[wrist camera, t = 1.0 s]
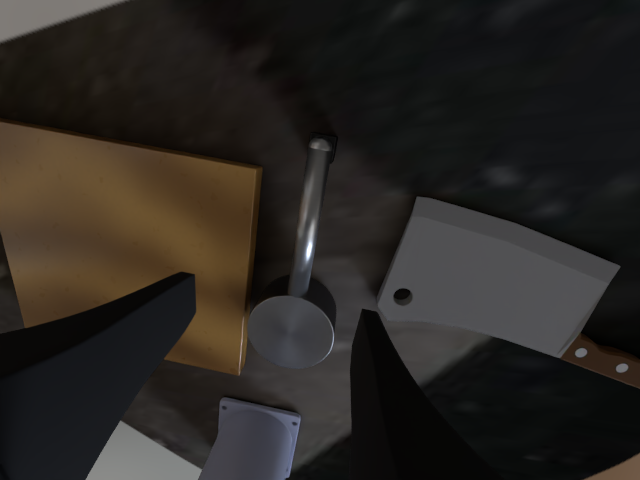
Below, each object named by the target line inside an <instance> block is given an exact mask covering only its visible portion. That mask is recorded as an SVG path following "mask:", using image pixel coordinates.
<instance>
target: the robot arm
mask: <svg viewBox="0 0 640 480" xmlns="http://www.w3.org/2000/svg"><path fill="white" fill-rule="evenodd" d="M195 314H196V287H195V274H192V273H187V272H182V271H181V272H178V273H176V274H173V275H171V276H169V277H166V278H164V279H162V280H160V281H157V282H155V283H153V284H151V285H148V286H146V287H144V288H142V289H139V290H137V291H135V292H133V293H130V294H128V295H125V296H123V297H120V298H118V299H115V300H113V301H110V302H108V303H106V304H103V305H100V306H98V307H95V308H92V309H89V310H86V311H83V312H80V313H77V314H74V315H71V316H68V317H65V318H61V319H57V320H54V321H50V322H46V323H43V324H39V325H36V326H32V327H28V328H24V329H20V330H15V331H11V332H7V333H2V334H0V480H85V479H86V478H87V476H88V474H89V472H90V470H91V469H92V467H93V465H94V463H95V462H96V460H97V458H98V457H99V455H100V453H101V451H102V450H103V448H104V446H105V445H106V443H107V441H108V440H109V438H110V436H111V434H112V433H113V431H114V430H115V428H116V427H117V425H118V423H119V422H120V420H121V418H122V417H123V415H124V414H125V412H126V410H127V409H128V407H129V406H130V404H131V403H132V401H133V400H134V398H135V397H136V395H137V394H138V392H139V390H140V389H141V388H142V386H143V385H144V383H145V382H146V381H147V379H148V378H149V377H150V376H151V374H152V373H153V372H154V370H155V369H156V368H157V367H158V365H159V364H160V363H161V362H162V360H163V359H164V358H165V357H166V355H167V354H168V353H169V352H170V350H171V349H172V348H173V347H174V345H175V344H176V343H177V341H178V340H179V339H180V338H181V336H182V335H183V334H184V332H185V331H186V329H187V327H188V326H189V324H190V322H191V321H192V319H193V317H194V315H195ZM350 382H351V418H352V438H351V455H350V470H349V480H505V479H504V478H503V477H502V476H500V475H499V474H498V473H497V472H496V471H495V470H494V469H493V468H492V467H491V466H490V465H489V464H488V463H487V462H485V461H484V460H483V459H482V458H481V457H480V456H479V455H478V454H477V453H476V452H475V451H474V450H473V449H472V448H471V447H470V446H469V445H468V444H467V443H466V442H465V441H464V440H463V439H462V438H461V437H460V436H459V434H458V433H457V432H456V431H455V430H454V429H453V428H452V427H451V426H450V425H449V423H448V422H447V421H446V420H445V419H444V418H443V416H442V415H441V414H440V413H439V412H438V411H437V409H436V408H435V407H434V406H433V405H432V403H431V402H430V401H429V400H428V398H427V397H426V396H425V394H424V393H423V392H422V390H421V389H420V387H419V386H418V385H417V383H416V382H415V380H414V379H413V377H412V376H411V374H410V373H409V371H408V369H407V368H406V366H405V365H404V363H403V361H402V360H401V358H400V356H399V354H398V353H397V351H396V349H395V347H394V345H393V343H392V342H391V340H390V338H389V336H388V334H387V332H386V330H385V327H384V325H383V323H382V321H381V319H380V316H379V314H378V313H377V312H376V311H371V310H366V309H362V311H361V315H360V319H359V322H358V326H357V330H356V333H355V337H354V341H353V344H352V353H351V365H350ZM300 420H301V416H300V415H299V414H298V413H294V412H290V411H285V410H281V409H276V408H272V407H267V406H263V405H258V404H254V403H249V402H245V401H240V400H236V399H231V398H227V397H224V398H222V399H221V401H220V407H219V426H218V436H217V438H216V441H215V443H214V445H213V447H212V450H211V452H210V454H209V456H208V459H207V461H206V463H205V465H204V467H203V470H202V472H201V474H200V476H199V479H198V480H284V479H285V478H288V477H289V475H290V470H291V465H292V460H293V455H294V450H295V445H296V440H297V435H298V430H299V425H300Z"/></svg>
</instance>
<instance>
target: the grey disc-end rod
mask: <svg viewBox="0 0 640 480" xmlns="http://www.w3.org/2000/svg"><path fill="white" fill-rule="evenodd" d="M337 140H338V136H333V135H328V134H322V133H316V132H311V133H310V140H309V146H308V153H307V160H306V167H305V174H304V181H303V188H302V194H301V201H300V208H299V215H298V222H297V229H296V236H295V243H294V250H293V257H292V264H291V271H290V275H287V276H283V277H280V278H278V279H276V280H274V281H272V282H271V283H270V284H269V285H268V286H267V287H266V288H265V290H264V291H263V293H262V295H261V297H260V298H259V300H258V302H257V304H256V305H255V307H254V309H253V311H252V313H251V314H250V316H249V319H248V324H247V331H248V336H249V340H250V342H251V344H252V345H253V347H254V349H255V350H256V351H257V352H258V353H259V354H260V355H261V356H262V357H263V358H265V359H266V360H268V361H269V362H271V363H273V364H275V365H278V366H281V367H285V368H292V369H300V368H306V367H310V366H313V365H315V364H317V363H319V362H320V361H322V360H323V359H324V358H325V357H326V356H327V355H328V353H329V352H330V350H331V348H332V346H333V342H334V333H335V322H336V304H335V301H334V299H333V297H332V295H331V293H330V292H329V291H328V289H327V288H326V287H325V286H323V285H322V284H321V283H320V282H318V281H316V280H314V279H312V278H310V275H311V269H312V263H313V258H314V252H315V246H316V240H317V235H318V229H319V223H320V217H321V211H322V206H323V200H324V194H325V188H326V182H327V177H328V171H329V165H330V164H331V163H332V162H333V161H334V157H335V152H336V146H337Z"/></svg>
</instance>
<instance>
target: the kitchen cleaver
mask: <svg viewBox="0 0 640 480" xmlns="http://www.w3.org/2000/svg"><path fill="white" fill-rule="evenodd" d="M620 267H621V266H619V265H616V264H614V263H612V262H609V261H607V260H604V259H602V258H600V257H597V256H595V255H592V254H590V253H588V252H585V251H583V250H580V249H578V248H576V247H573V246H571V245H568V244H566V243H564V242H561V241H559V240H556V239H554V238H551V237H549V236H546V235H544V234H541V233H539V232H536V231H534V230H531V229H529V228H526V227H524V226H521V225H519V224H516V223H513V222H510V221H507V220H503V219H500V218H497V217H493V216H490V215H486V214H483V213H480V212H476V211H473V210H470V209H466V208H463V207H459V206H456V205H453V204H449V203H446V202H442V201H439V200H435V199H432V198H426V197H416V201H415V204H414V207H413V210H412V213H411V216H410V219H409V221H408V223H407V226H406V228H405V231H404V233H403V235H402V238H401V240H400V243H399V245H398V247H397V250H396V252H395V255H394V257H393V260H392V262H391V264H390V267H389V269H388V272H387V274H386V276H385V279H384V281H383V284H382V286H381V288H380V291H379V293H378V296H377V298H376V302H377V306H378V308H379V309H380V310H381V312H382V313H383V314H384V316H385V317H386V319H387V320H388V321H408V322H427V323H433V324H439V325H445V326H452V327H458V328H464V329H468V330H472V331H475V332H479V333H483V334H487V335H490V336H494V337H498V338H502V339H505V340H508V341H511V342H514V343H517V344H519V345H522V346H525V347H528V348H531V349H534V350H537V351H540V352H543V353H546V354H549V355H552V356H555V357H558V358H560V359H562V360H565V361H567V362H570V363H573V364H575V365H578V366H581V367H583V368H586V369H589V370H591V371H594V372H597V373H599V374H602V375H605V376H607V377H610V378H613V379H615V380H618V381H621V382H623V383H626V384H629V385H631V386H634V387H637V388H639V389H640V359H639V358H637V357H636V356H634V355H632V354H629V353H627V352H624V351H621V350H619V349H616V348H613V347H609V346H601V345H598V344H595V343H594V342H593V341H592V340H591V339H590V338H588V337H587V336H586V335H584V334H582V333H580V332H581V331H582V329H583V327H584V325H585V324H586V322H587V320H588V319H589V317H590V315H591V313H592V312H593V310H594V308H595V307H596V305H597V303H598V301H599V300H600V298H601V296H602V295H603V293H604V291H605V289H606V288H607V286H608V284H609V283H610V281H611V280H612V278H613V277H614V275H615V274H616V272H617V271H618V270H619V268H620ZM401 288H406V289H408V290H410V295H409V296H408V297H407V298H406V299H403V300H399V299H396V298H394V297H393V295H394V293H395V292H396V291H397V290H398V289H401Z"/></svg>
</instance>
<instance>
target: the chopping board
mask: <svg viewBox="0 0 640 480" xmlns="http://www.w3.org/2000/svg"><path fill="white" fill-rule="evenodd" d="M261 179H262V166H257V165H252V164H246V163H241V162H235V161H230V160H225V159H219V158H214V157H208V156H203V155H198V154H192V153H187V152H181V151H176V150H171V149H165V148H160V147H154V146H149V145H144V144H138V143H133V142H127V141H122V140H117V139H111V138H106V137H100V136H95V135H90V134H84V133H79V132H73V131H68V130H63V129H57V128H52V127H46V126H41V125H36V124H30V123H25V122H19V121H14V120H9V119H3V118H0V232H1V236H2V239H3V243H4V247H5V251H6V255H7V259H8V263H9V267H10V271H11V275H12V278H13V282H14V286H15V290H16V294H17V298H18V302H19V306H20V310H21V314H22V317H23V321H24V325H25V328H28V327H32V326H36V325H39V324H43V323H46V322H50V321H54V320H57V319H61V318H65V317H68V316H71V315H74V314H77V313H80V312H83V311H86V310H89V309H92V308H95V307H98V306H100V305H103V304H106V303H108V302H110V301H113V300H115V299H118V298H120V297H123V296H125V295H128V294H130V293H133V292H135V291H137V290H139V289H142V288H144V287H146V286H148V285H151V284H153V283H155V282H157V281H160V280H162V279H164V278H166V277H169V276H171V275H173V274H176V273H178V272H181V271H182V272H187V273H192V274H195V287H196V314H195V315H194V317H193V319H192V321H191V322H190V324H189V326H188V327H187V329H186V331H185V332H184V334H183V335H182V336H181V338H180V339H179V340H178V341H177V343H176V344H175V345H174V347H173V348H172V349H171V350H170V352H169V353H168V354H167V355H166V357H165V358H164V359H165V360H169V361H174V362H178V363H183V364H187V365H192V366H197V367H201V368H206V369H210V370H215V371H220V372H224V373H229V374H233V375H238V376H239V375H240V373H241V371H242V369H243V367H244V364H245V357H246V346H247V335H248V331H247V324H248V319H249V313H250V302H251V291H252V279H253V268H254V257H255V246H256V235H257V224H258V213H259V202H260V190H261Z"/></svg>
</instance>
